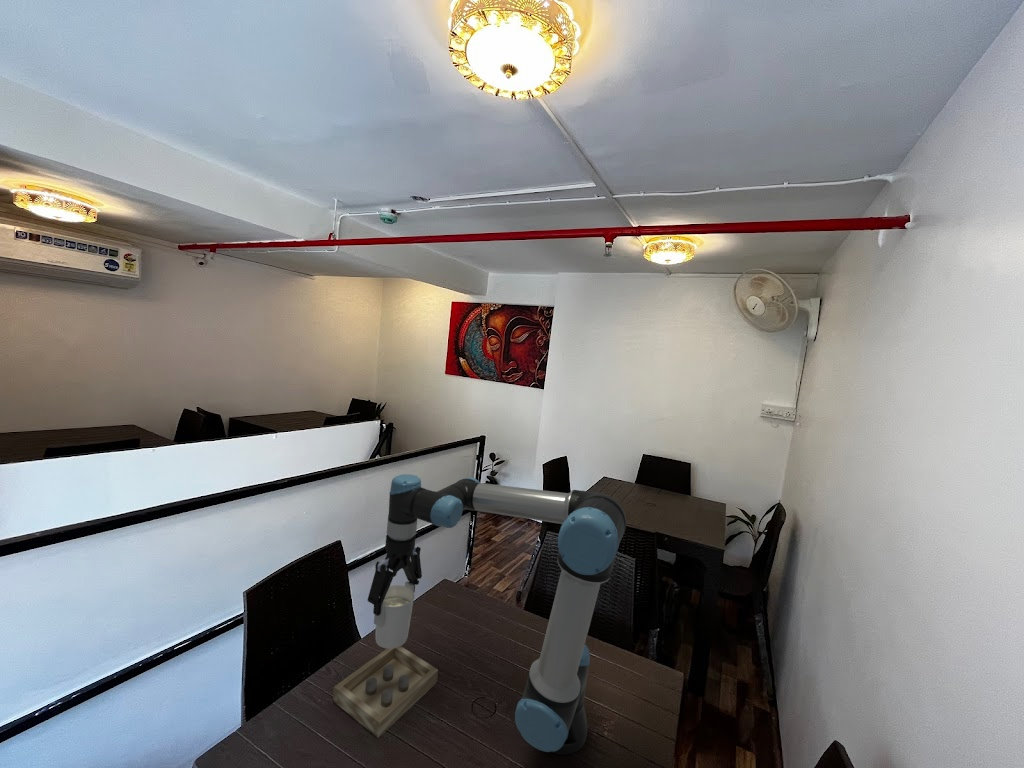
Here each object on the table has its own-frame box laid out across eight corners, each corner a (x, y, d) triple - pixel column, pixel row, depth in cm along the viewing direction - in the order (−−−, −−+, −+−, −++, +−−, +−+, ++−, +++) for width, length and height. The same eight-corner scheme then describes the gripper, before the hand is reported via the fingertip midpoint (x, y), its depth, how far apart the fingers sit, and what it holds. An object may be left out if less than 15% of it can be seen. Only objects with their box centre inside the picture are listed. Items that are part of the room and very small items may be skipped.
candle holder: (400, 655, 107) (404, 610, 106) (365, 645, 109) (368, 601, 108) (416, 630, 116) (420, 589, 115) (383, 622, 118) (387, 581, 117)
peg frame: (436, 683, 118) (438, 669, 118) (378, 738, 100) (379, 722, 100) (393, 654, 127) (395, 642, 127) (332, 701, 109) (334, 686, 109)
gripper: (420, 517, 121) (413, 591, 123) (356, 544, 102) (349, 630, 104) (440, 525, 118) (432, 601, 120) (377, 554, 99) (369, 644, 101)
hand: (393, 615), depth 112 cm, fingers closed on candle holder, 9 cm apart
